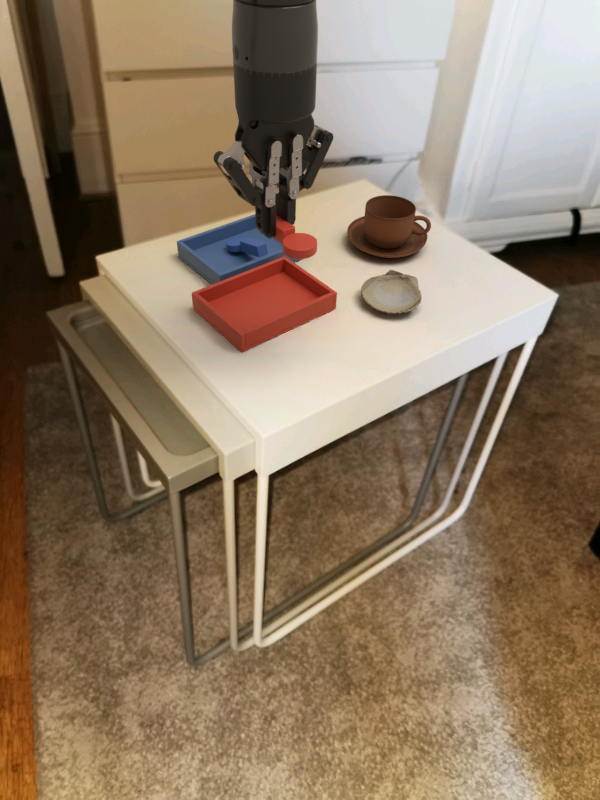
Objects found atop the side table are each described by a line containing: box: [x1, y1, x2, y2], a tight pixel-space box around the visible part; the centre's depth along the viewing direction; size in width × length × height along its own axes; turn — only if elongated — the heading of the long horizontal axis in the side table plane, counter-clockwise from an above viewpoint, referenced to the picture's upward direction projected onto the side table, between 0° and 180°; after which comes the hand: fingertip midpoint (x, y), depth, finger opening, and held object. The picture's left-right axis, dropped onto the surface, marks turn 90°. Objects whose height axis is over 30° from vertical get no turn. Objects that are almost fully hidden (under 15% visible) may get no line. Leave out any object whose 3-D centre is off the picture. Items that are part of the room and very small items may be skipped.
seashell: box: [360, 269, 423, 315], centre depth 85 cm, size 8×3×8 cm
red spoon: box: [273, 215, 318, 260], centre depth 67 cm, size 8×4×2 cm, turn 37°
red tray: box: [191, 256, 338, 353], centre depth 83 cm, size 15×11×3 cm
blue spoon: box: [226, 237, 268, 257], centre depth 91 cm, size 8×4×2 cm, turn 39°
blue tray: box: [176, 213, 302, 285], centre depth 93 cm, size 15×11×3 cm
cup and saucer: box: [346, 194, 432, 259], centre depth 95 cm, size 12×12×6 cm
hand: (276, 231), depth 69 cm, fingers closed on red spoon, 1 cm apart
